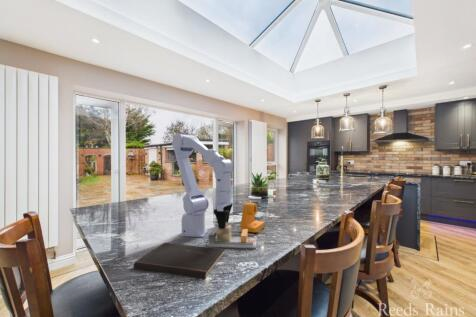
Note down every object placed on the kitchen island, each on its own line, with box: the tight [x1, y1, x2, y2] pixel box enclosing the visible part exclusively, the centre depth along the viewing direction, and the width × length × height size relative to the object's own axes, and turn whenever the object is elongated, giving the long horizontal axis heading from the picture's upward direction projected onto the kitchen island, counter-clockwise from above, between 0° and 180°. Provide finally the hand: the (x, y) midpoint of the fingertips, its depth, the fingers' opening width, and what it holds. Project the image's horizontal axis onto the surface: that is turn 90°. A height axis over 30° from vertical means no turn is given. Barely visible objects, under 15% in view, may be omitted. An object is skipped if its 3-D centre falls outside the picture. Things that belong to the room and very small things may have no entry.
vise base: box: [206, 227, 258, 249], centre depth 86 cm, size 18×10×4 cm, turn 83°
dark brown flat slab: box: [133, 242, 225, 280], centre depth 71 cm, size 16×23×2 cm
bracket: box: [240, 202, 265, 233], centre depth 101 cm, size 11×7×12 cm, turn 151°
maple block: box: [216, 224, 232, 242], centre depth 86 cm, size 5×4×5 cm
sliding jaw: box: [241, 229, 249, 242], centre depth 85 cm, size 2×8×3 cm, turn 173°
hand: (223, 225), depth 86 cm, fingers open, 7 cm apart
